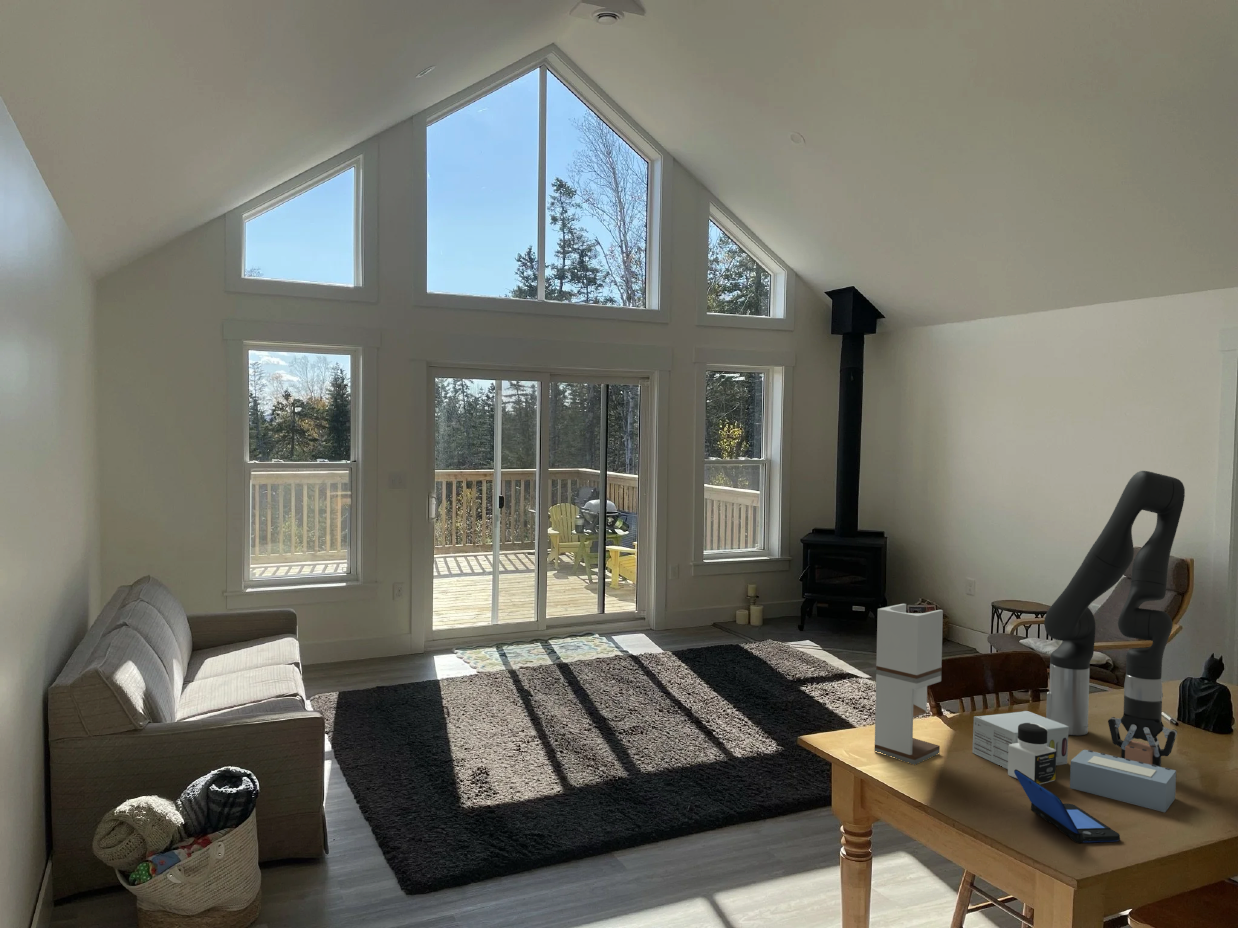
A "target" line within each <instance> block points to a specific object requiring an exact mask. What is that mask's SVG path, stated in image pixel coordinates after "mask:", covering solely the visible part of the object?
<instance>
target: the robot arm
mask: <svg viewBox="0 0 1238 928" xmlns="http://www.w3.org/2000/svg"><path fill="white" fill-rule="evenodd" d="M1185 489H1186V488H1185V485H1184V484H1183V482H1182V481H1181V480H1180V479H1179V478H1176V477H1174V476H1171V475H1170V476H1168V475H1165V474H1161V473H1157V472H1153V471H1148V470H1140V471H1137V472H1136V473H1135V474H1133V475H1132V477H1131V478H1130V479H1129V480H1128V482H1127V484H1126V485H1125V487H1124V489H1123V491H1122V492H1121V495H1120V498H1119V499H1118V501H1117V503H1116V505H1115V508H1114V509H1113V512H1112V513H1111V515H1110V517H1109V519H1108V521H1107V523H1106V524H1105V526H1104V528H1103V529H1102V531H1101V533H1100V534H1099V536H1098V537H1097V539H1096V540H1095V542H1094V543H1093V544H1092V546H1091V547H1090V548H1089V551H1088V552H1087V554H1086V555H1085V557H1084V559H1083V561H1082V563H1081V564H1080V566H1079V567H1078V569H1077V570H1076V572H1075V573H1074V574H1073V577H1072V578H1071V580H1070V581H1069V582H1068V584H1067V586H1066V587H1065V588H1064V590H1063V591H1062V592H1061V593H1060V595H1059V596H1058V597H1057V599H1056V600H1055V601H1054V602H1053V603H1052V604H1051V606H1050V607H1049V608H1048V610H1047V611H1046V614H1045V616H1044V620H1043V621H1044V623H1043V625H1044V629H1045V632H1046V634H1047V635H1048V636H1049V637H1050V638H1051V639H1054V640H1056V641H1062V642H1061V643H1060V645H1059V646H1058V647H1057V648H1056V649H1055V650H1052V652H1051V653H1050V658H1049V659H1050V660H1049V661H1050V662H1049V664H1050V665H1049V690H1048V692H1047V693H1046V708H1045V709H1046V711H1045V713H1046V714H1045V715H1046V717H1045V718H1048V719H1050V720H1053V721H1056V722H1059V723H1061V724H1064V725H1066V726H1069V730H1068V736H1069V735H1070V736H1084V735H1087V734H1088V731H1089V700H1090V697H1089V695H1090V664H1091V661H1092V659H1093V656H1094V652H1095V640H1096V619H1095V616H1094V613H1093V612H1092V610H1091V609H1090V608H1089V606H1090V605H1091V604H1092V603H1093V602H1094V601H1095V600H1097V599H1098V598H1100V596H1102V595H1103V594H1105V593H1107V592H1108V591H1109V590H1110V589H1111V588H1113V587H1114V586H1115V585H1116V584H1118V583H1119V581H1120V580H1121V579H1122V578H1123V576H1124V574H1125V573H1126V572H1127V570H1128V568H1129V567H1130V566H1131V564H1132V571H1131V581H1130V589H1129V593H1128V596H1127V599H1126V601H1125V603H1124V606H1123V608H1122V609H1121V612H1120V614H1119V616H1118V620H1117V621H1118V622H1117V626H1118V629H1119V632H1120V633H1121V635H1123V636H1124V637H1125V638H1129V639H1138V640H1143V641H1152V644H1151V646H1148V647H1137V648H1131V649H1129V650H1128V651H1127V652H1126V662H1125V678H1124V684H1123V690H1124V691H1123V714H1122V717H1121V718H1120V717H1119V718H1118V717H1117V718H1116V717H1115V716H1111V717H1109V719H1108V720H1107V723H1108V727H1109V733H1110V736H1111V741H1112V744H1113V745H1114V746H1118V747H1119V748H1120V749H1121V757H1120V758H1124V759H1125V747H1126V746H1127V745H1128V744H1130V742H1132V741H1134V739H1135V740H1141V741H1142V740H1143V741H1145V742H1147V743H1148V744H1149V745H1150V747H1151V749H1152V750H1153V754H1154V755H1153V757H1152V764H1153V765H1157V766H1159V767H1162V757H1169V755H1170V754H1171V753H1172V750H1173V747H1174V744H1175V743H1176V738H1177V735H1178V731H1177V730H1176V729H1174V728H1173V729H1171V728H1168V727H1166V726H1164V723H1163V721H1162V719H1163V718H1162V717H1163V716H1162V714H1163V696H1164V693H1163V683H1162V682H1163V681H1162V676H1163V675H1162V672H1163V668H1162V666H1163V657H1164V654H1165V648H1166V646H1167V643H1168V641H1169V638H1170V636H1171V633H1172V630H1173V620H1172V617H1171V615H1170V614H1169V613H1168V612H1166V611H1163V610H1160V609H1159V610H1157V609H1151V608H1150V609H1149V608H1141V607H1140V606H1141V605H1142V604H1144V603H1145V602H1153V601H1161V600H1163V599H1164V598H1165V597H1166V592H1167V581H1168V571H1169V562H1170V555H1171V551H1172V548H1173V544H1174V541H1175V537H1176V534H1177V531H1178V527H1179V523H1180V519H1181V516H1182V512H1183V507H1184V503H1185V497H1186V495H1185V494H1186V493H1185V491H1186V490H1185ZM1142 511H1146V512H1149V513H1153V514H1156V523H1155V528H1154V530H1153V533H1152V534H1151V535H1150V537H1149V538H1148V540H1147V541H1146V542H1145V543H1144V544H1143V546H1142V547H1141V548H1140V550H1138V552H1137V554H1136V555H1135V557H1134V554H1135V551H1134V541H1133V535H1132V531H1133V530H1132V529H1133V525H1134V523H1135V521H1136V519H1137V517H1138V516H1139V514H1140V512H1142ZM1132 562H1133V563H1132ZM1121 724H1122V726H1123V727H1124V728H1125V730H1126V732H1127V734H1126V735H1125V737H1124V740H1122V739H1121V735H1120V730H1119V729H1120V727H1121ZM1162 732H1163V734H1164V738H1166V741H1165V745H1164V748H1162V747H1161V746H1160V740H1159V739H1158V736H1159V734H1161V733H1162Z"/></svg>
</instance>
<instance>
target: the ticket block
mask: <svg viewBox="0 0 1238 928" xmlns="http://www.w3.org/2000/svg"><path fill="white" fill-rule="evenodd" d="M1069 768H1070V770H1069V771H1070V772H1069V774H1070V775H1069V789H1072V790H1076V791H1081V792H1085V793H1088V794H1092V795H1096V796H1100V797H1103V798H1108V799H1112V800H1115V801H1118V802H1123V803H1128V804H1131V805H1136V806H1138V807H1142V808H1146V809H1150V810H1154V811H1157V812H1162V813H1166V812H1167V811H1168V809H1169V808H1170V806H1172V804H1173V802H1174V801H1175V799H1176V792H1177V791H1176V789H1177V787H1176V786H1177V785H1176V783H1177V770H1175V769H1171V768H1169V767H1162V766H1161V767H1159V766H1157V765H1153V764H1152V765H1150V764H1145V763H1143V762H1140V761H1139V762H1137V761H1132V760H1130V759H1127V758H1126V759H1124V758H1121V757H1118V756H1117V755H1110V754H1106V753H1103V752H1097V751H1094V750H1091V749H1082V750H1081V751H1080V752H1078V754H1077V755H1075V756H1074V757H1073V758H1072V759H1070V767H1069Z"/></svg>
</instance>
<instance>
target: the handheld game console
mask: <svg viewBox="0 0 1238 928" xmlns="http://www.w3.org/2000/svg"><path fill="white" fill-rule="evenodd" d="M1014 773H1015V775H1016V777H1017V778H1018V779H1017V778H1016V779H1017V780H1018V782H1019V784H1020V785H1021V787H1022V789H1023V791H1024V792H1025V794H1026V796H1027V799H1029V802H1030V803H1031V804H1030V805H1031V806H1030V810H1031V811H1032V812H1033V813H1034V814H1036V815H1038V816H1039V817H1041V818H1042V819H1044V820H1045V821H1046V822H1048V823H1050V824H1052V825H1054V826H1056V828H1057V829H1058V830H1059V831H1060V832H1062V833H1063V835H1066V836H1067V837H1069V838H1070V839H1071V840H1072V841H1074V842H1075V843H1078V844H1081V843H1102V842H1103V843H1107V842H1109V843H1110V842H1112V843H1113V842H1119V841H1120V839H1121V838H1120V837H1121V835H1120V833H1118V832H1117V831H1115V830H1114V829H1112V828H1111V827H1109V826H1107V825H1106V824H1105V823H1103V822H1101V821H1100V820H1099V819H1097V818H1096V817H1094V816H1093V815H1091V814H1090V813H1088V812H1086V811H1085V810H1083V809H1082V808H1080V807H1078V806H1077V805H1076V804H1072V803H1063V801H1062V799H1060V797H1059V796H1058V795H1057V794H1055V792H1054V793H1053V791H1051V790H1049V789H1048V788H1046V787H1045V786H1043V784H1039V783H1037V782H1035V781H1034V780H1032V779H1031V778H1029V777H1028V776H1026V775H1025V774H1023V773H1021V772H1020V771H1018V770H1016V769H1015V770H1014Z"/></svg>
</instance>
